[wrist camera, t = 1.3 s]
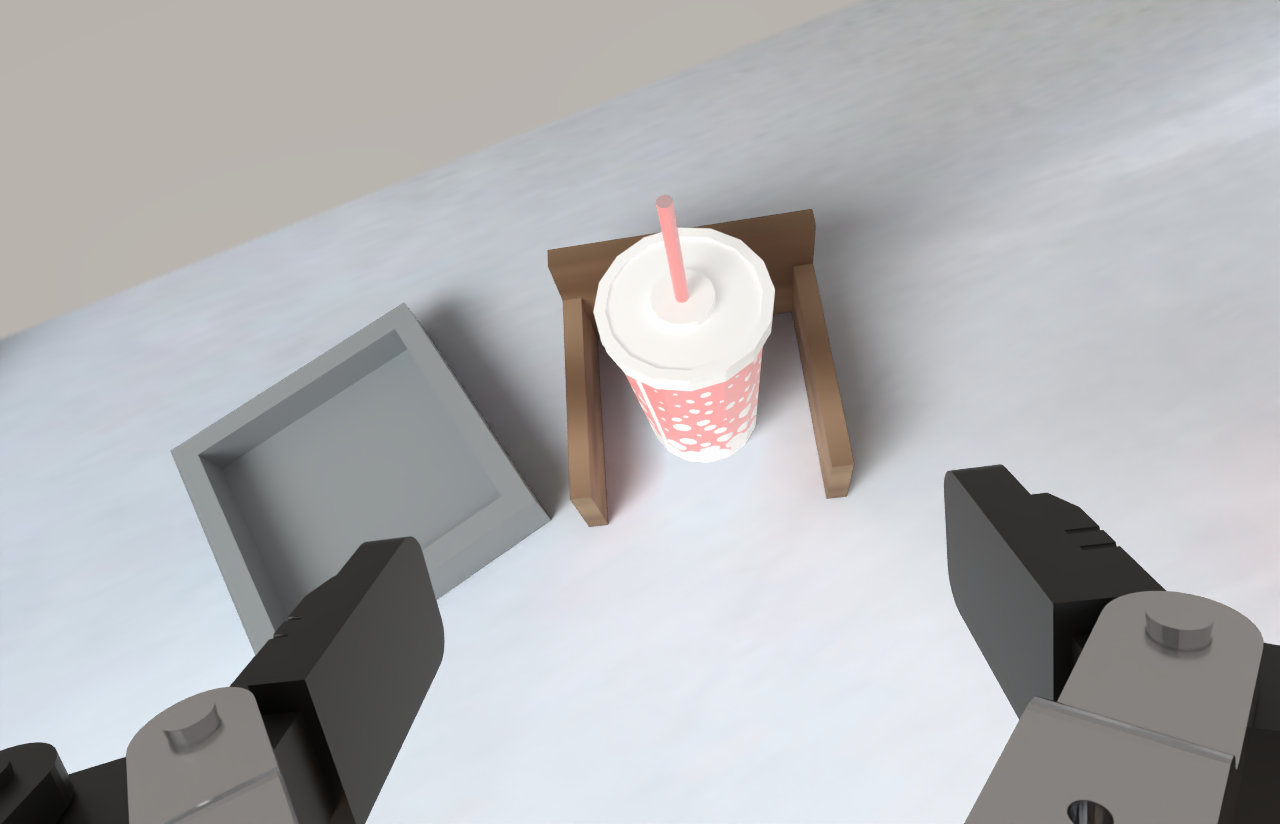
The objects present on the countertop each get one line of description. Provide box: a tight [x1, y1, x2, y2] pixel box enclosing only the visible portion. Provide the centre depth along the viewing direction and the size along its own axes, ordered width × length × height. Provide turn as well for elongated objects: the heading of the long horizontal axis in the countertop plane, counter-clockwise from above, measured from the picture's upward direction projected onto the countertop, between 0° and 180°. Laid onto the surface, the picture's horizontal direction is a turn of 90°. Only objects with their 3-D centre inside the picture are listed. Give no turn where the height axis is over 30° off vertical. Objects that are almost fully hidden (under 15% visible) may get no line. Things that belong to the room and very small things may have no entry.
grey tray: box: [171, 303, 551, 655], centre depth 35 cm, size 12×12×2 cm
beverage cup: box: [593, 195, 775, 463], centre depth 29 cm, size 6×6×14 cm
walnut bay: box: [548, 209, 854, 527], centre depth 32 cm, size 10×11×6 cm
